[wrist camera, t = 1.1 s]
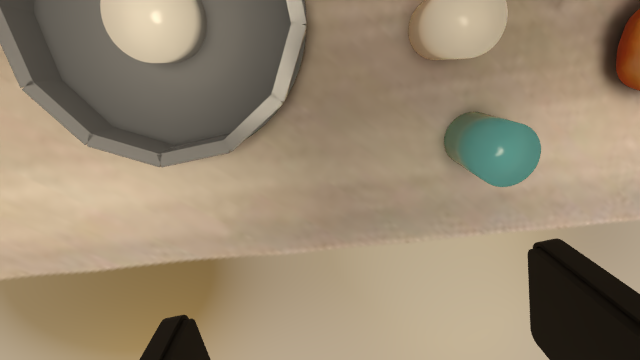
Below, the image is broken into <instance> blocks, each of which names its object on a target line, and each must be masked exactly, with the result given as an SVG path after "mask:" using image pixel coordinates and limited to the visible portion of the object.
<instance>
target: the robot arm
mask: <svg viewBox="0 0 640 360" xmlns="http://www.w3.org/2000/svg"><path fill="white" fill-rule="evenodd" d="M528 274H529V299H530V322H531V323H530V325H531V332H532V336H533V338H534V340H535V342H536V343H537V345H538V346H539V347H540V348H541V350H542V351H543V352H544V353H545V355H546V356H547V357H548V358H549V359H550V360H640V294H639V293H637V292H636V291H634V290H633V289H632V288H630V287H629V286H627V285H626V284H624V283H623V282H621V281H620V280H619V279H617V278H616V277H614V276H613V275H611V274H610V273H609V272H607V271H606V270H604V269H603V268H601V267H600V266H598V265H597V264H596V263H594V262H592V261H591V260H590V259H588V258H587V257H585V256H584V255H583V254H581V253H579V252H578V251H577V250H575V249H574V248H572V247H571V246H570V245H568V244H567V243H565V242H564V241H562V240H560V239H551V240H547V241H542V242H537V243H535V244H534V245H533V249H530V250H529V252H528ZM140 360H210V357H209V355H208V352H207V350H206V347H205V346H204V342H203V340H202V337H201V335H200V332H199V330H198V327H197V325H196V322H195V320H193V319H189V318H188V317H187V316H186V315H180V316H175V317H170V318H165V319H164V320H162V322H161V323H160V325H159V327H158V328H157V330H156V332H155V334H154V335H153V337H152V339H151V341H150V343H149V344H148V346H147V348H146V350H145V351H144V353H143V355H142V357H141V358H140Z"/></svg>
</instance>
